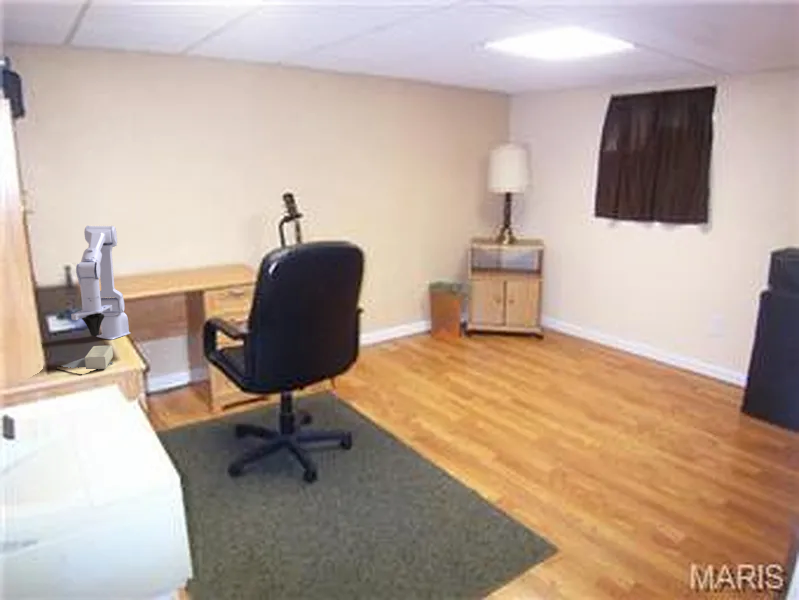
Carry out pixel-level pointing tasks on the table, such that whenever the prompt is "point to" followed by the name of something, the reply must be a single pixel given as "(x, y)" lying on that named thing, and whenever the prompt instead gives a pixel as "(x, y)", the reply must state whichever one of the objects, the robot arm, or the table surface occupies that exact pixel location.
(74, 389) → the table surface
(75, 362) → the mat
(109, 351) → the skincare box
